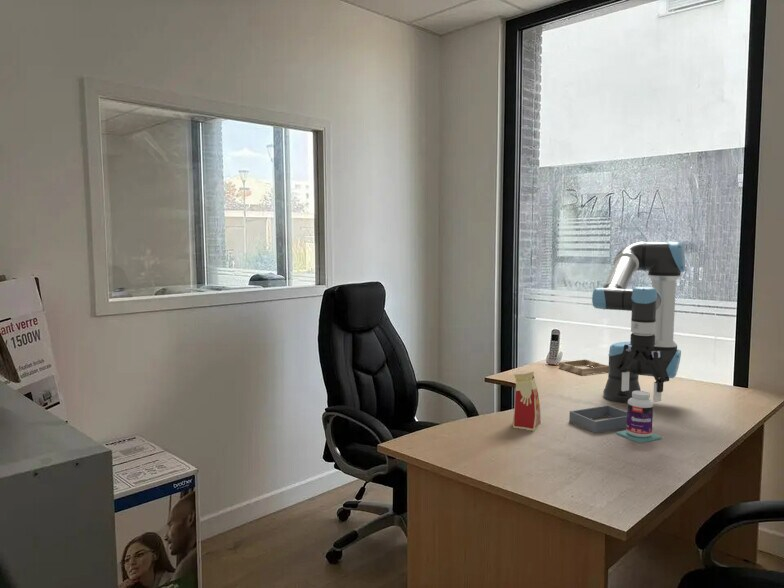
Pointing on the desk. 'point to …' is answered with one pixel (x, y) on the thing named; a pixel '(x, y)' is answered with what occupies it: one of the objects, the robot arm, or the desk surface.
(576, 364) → the wooden square tray
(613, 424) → the rectangular frame
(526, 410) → the milk carton
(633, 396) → the pill bottle
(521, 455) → the desk surface
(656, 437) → the pad
